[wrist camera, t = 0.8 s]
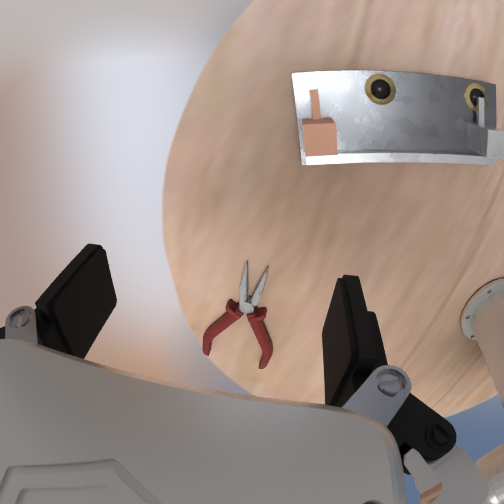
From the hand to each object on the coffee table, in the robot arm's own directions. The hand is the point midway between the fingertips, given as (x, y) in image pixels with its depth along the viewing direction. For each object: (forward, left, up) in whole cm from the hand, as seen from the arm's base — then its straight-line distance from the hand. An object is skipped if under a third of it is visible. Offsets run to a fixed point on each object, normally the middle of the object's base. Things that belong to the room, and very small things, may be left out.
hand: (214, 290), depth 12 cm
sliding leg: (-5, -3, -23) cm, 24 cm away
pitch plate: (-15, -3, -25) cm, 30 cm away
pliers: (+6, +26, -26) cm, 37 cm away
